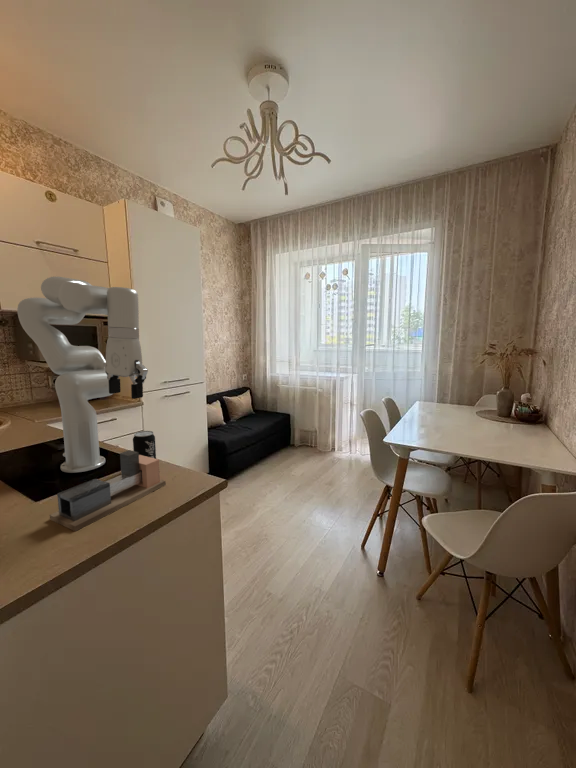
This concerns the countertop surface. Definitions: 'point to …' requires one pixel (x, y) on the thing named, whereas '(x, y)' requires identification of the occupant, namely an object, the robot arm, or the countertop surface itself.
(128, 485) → the slide bolt
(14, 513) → the countertop surface
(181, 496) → the countertop surface
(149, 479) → the socket block
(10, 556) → the countertop surface
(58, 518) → the base board
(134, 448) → the beverage can
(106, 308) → the robot arm
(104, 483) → the sleeve
